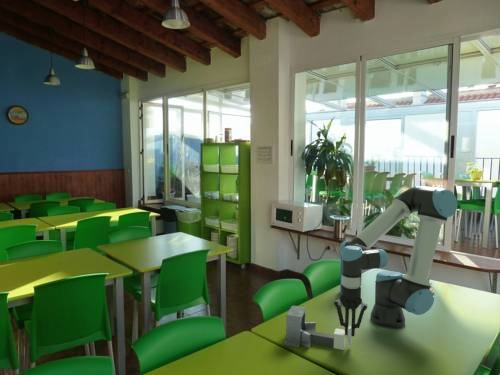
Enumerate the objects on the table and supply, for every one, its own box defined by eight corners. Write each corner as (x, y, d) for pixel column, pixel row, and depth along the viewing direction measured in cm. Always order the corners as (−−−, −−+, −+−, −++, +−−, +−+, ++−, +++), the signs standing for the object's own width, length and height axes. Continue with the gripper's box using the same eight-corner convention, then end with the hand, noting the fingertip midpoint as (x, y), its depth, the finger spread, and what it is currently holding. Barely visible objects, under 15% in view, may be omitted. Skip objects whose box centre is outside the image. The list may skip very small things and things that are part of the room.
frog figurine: (442, 292, 210) (442, 267, 207) (423, 302, 201) (422, 276, 198) (427, 287, 218) (427, 263, 216) (407, 296, 209) (407, 271, 207)
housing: (316, 332, 161) (316, 306, 160) (309, 349, 147) (309, 321, 146) (293, 328, 164) (293, 303, 163) (284, 345, 151) (284, 317, 149)
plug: (345, 344, 152) (345, 329, 151) (343, 350, 147) (344, 335, 146) (301, 336, 158) (302, 322, 157) (299, 341, 153) (299, 327, 153)
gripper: (368, 284, 148) (366, 341, 150) (335, 280, 152) (334, 336, 154) (367, 290, 141) (365, 350, 143) (333, 286, 145) (331, 344, 147)
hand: (349, 343), depth 148 cm, fingers closed
